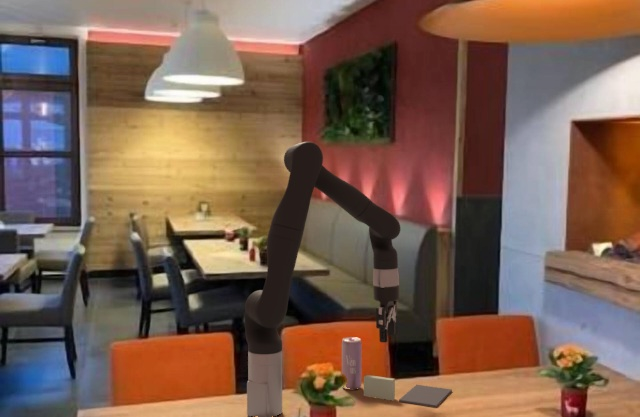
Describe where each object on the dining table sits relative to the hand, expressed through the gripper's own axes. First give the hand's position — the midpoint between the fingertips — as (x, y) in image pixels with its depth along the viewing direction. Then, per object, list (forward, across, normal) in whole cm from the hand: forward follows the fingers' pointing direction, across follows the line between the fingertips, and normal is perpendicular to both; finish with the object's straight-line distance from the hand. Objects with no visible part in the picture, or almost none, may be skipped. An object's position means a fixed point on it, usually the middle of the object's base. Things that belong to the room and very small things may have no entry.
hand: (387, 338), depth 195 cm
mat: (+18, -4, +10) cm, 21 cm away
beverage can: (+17, -4, -13) cm, 22 cm away
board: (+17, +2, -2) cm, 18 cm away
